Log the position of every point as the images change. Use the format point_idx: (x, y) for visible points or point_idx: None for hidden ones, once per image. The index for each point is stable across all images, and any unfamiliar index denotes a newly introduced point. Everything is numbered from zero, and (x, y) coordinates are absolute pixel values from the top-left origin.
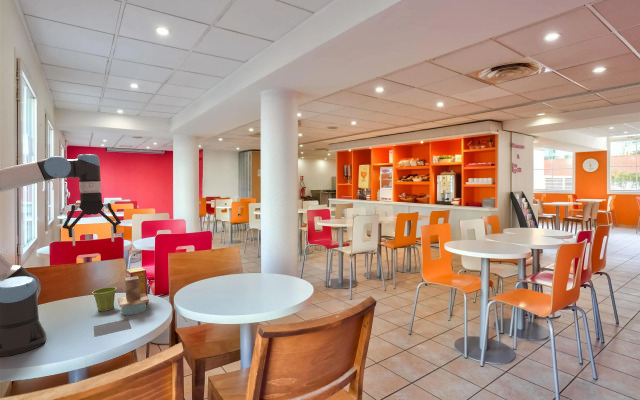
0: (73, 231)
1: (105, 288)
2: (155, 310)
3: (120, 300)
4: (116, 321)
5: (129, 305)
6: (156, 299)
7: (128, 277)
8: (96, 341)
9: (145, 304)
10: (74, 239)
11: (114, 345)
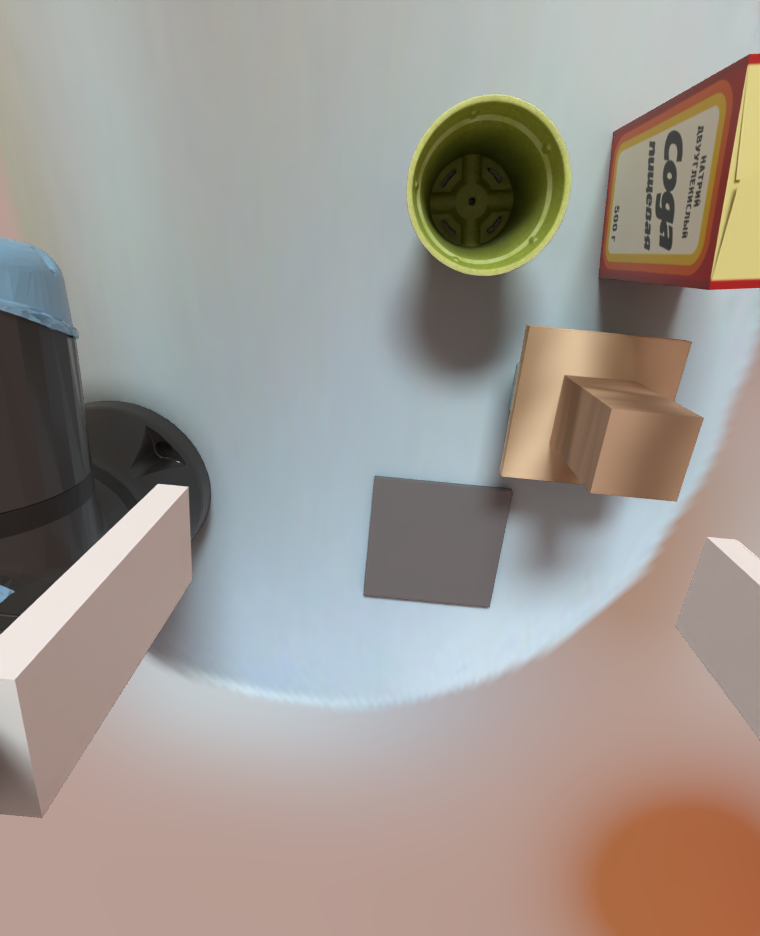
0: (56, 771)
1: (508, 106)
2: None
3: (527, 393)
4: (463, 488)
5: None
6: None
7: (693, 186)
8: (366, 620)
9: None
10: (148, 639)
11: (409, 687)
